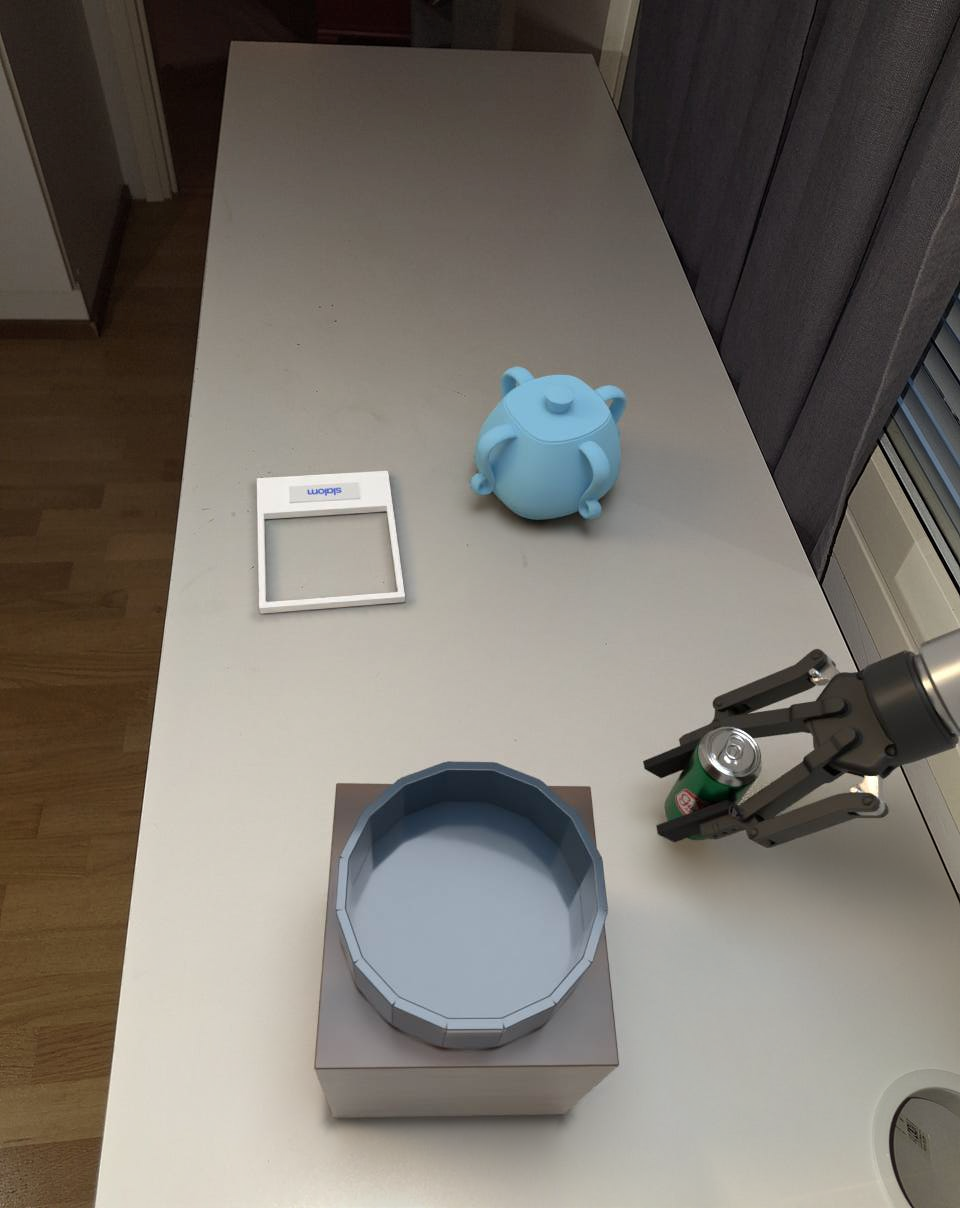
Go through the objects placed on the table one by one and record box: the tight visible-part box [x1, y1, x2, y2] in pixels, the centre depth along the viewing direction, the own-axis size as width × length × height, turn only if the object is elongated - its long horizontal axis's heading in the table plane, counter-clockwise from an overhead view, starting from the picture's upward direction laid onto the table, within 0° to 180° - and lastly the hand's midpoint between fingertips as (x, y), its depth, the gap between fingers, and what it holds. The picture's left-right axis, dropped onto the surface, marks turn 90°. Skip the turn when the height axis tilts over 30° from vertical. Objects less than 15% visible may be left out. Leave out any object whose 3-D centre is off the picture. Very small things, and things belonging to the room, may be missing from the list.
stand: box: [313, 782, 620, 1119], centre depth 63 cm, size 17×17×20 cm
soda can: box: [663, 727, 762, 841], centre depth 74 cm, size 5×5×12 cm
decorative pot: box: [469, 366, 627, 521], centre depth 100 cm, size 16×16×14 cm
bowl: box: [335, 760, 609, 1049], centre depth 53 cm, size 15×15×5 cm
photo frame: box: [256, 470, 406, 614], centre depth 97 cm, size 15×1×18 cm
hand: (659, 801), depth 75 cm, fingers closed on soda can, 5 cm apart
